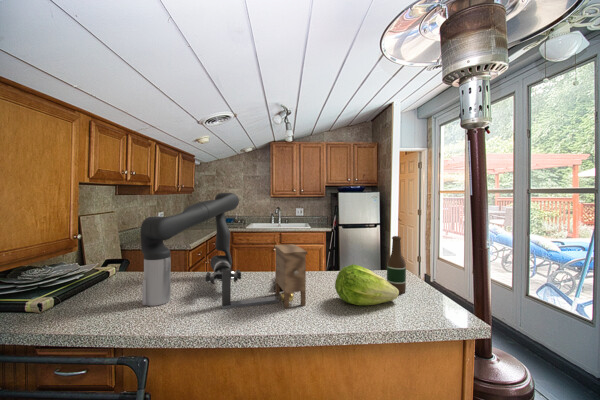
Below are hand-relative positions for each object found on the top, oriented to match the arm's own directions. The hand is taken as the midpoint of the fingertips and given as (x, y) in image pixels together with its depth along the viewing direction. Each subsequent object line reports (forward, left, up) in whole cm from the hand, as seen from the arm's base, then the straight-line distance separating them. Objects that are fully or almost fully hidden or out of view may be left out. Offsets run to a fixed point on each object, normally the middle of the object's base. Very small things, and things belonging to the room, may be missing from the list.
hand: (224, 280), depth 109 cm
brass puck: (+24, -8, -8) cm, 26 cm away
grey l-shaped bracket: (+9, -8, -8) cm, 14 cm away
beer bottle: (+72, -13, -8) cm, 73 cm away
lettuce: (+53, -20, -8) cm, 57 cm away
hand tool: (+27, +14, -8) cm, 31 cm away
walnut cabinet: (+25, -8, -8) cm, 27 cm away
